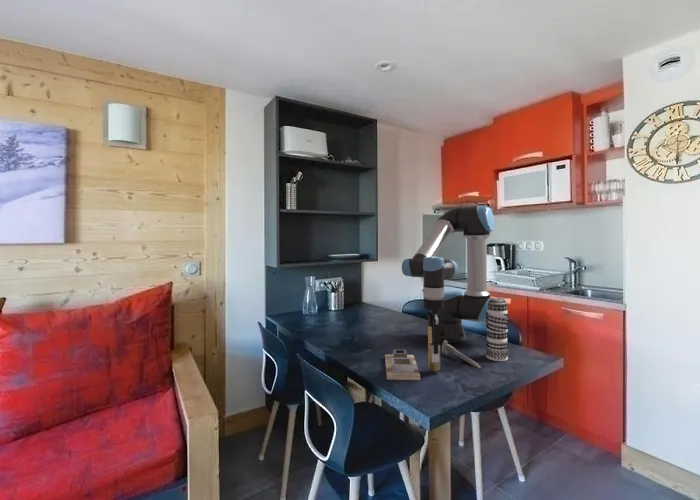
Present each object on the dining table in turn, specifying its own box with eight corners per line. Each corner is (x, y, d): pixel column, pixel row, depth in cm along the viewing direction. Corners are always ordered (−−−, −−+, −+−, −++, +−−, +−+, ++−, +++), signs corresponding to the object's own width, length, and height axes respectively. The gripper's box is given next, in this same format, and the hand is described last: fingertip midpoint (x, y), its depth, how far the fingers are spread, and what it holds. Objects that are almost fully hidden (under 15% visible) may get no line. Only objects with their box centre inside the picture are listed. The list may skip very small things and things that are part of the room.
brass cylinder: (439, 366, 135) (438, 325, 134) (441, 370, 130) (441, 328, 130) (427, 366, 135) (427, 325, 134) (429, 370, 131) (428, 328, 130)
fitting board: (420, 380, 126) (420, 367, 126) (386, 379, 127) (386, 367, 127) (413, 358, 148) (413, 347, 148) (385, 358, 149) (384, 347, 149)
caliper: (441, 353, 154) (441, 339, 154) (443, 353, 155) (443, 339, 154) (479, 368, 136) (479, 352, 136) (481, 368, 137) (481, 352, 137)
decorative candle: (500, 353, 153) (500, 296, 152) (513, 360, 144) (514, 300, 143) (481, 354, 151) (481, 297, 150) (493, 362, 142) (493, 301, 141)
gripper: (420, 293, 140) (421, 351, 141) (427, 302, 123) (427, 368, 124) (439, 293, 140) (440, 351, 141) (448, 302, 122) (449, 368, 124)
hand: (434, 359), depth 133 cm, fingers closed on brass cylinder, 4 cm apart
